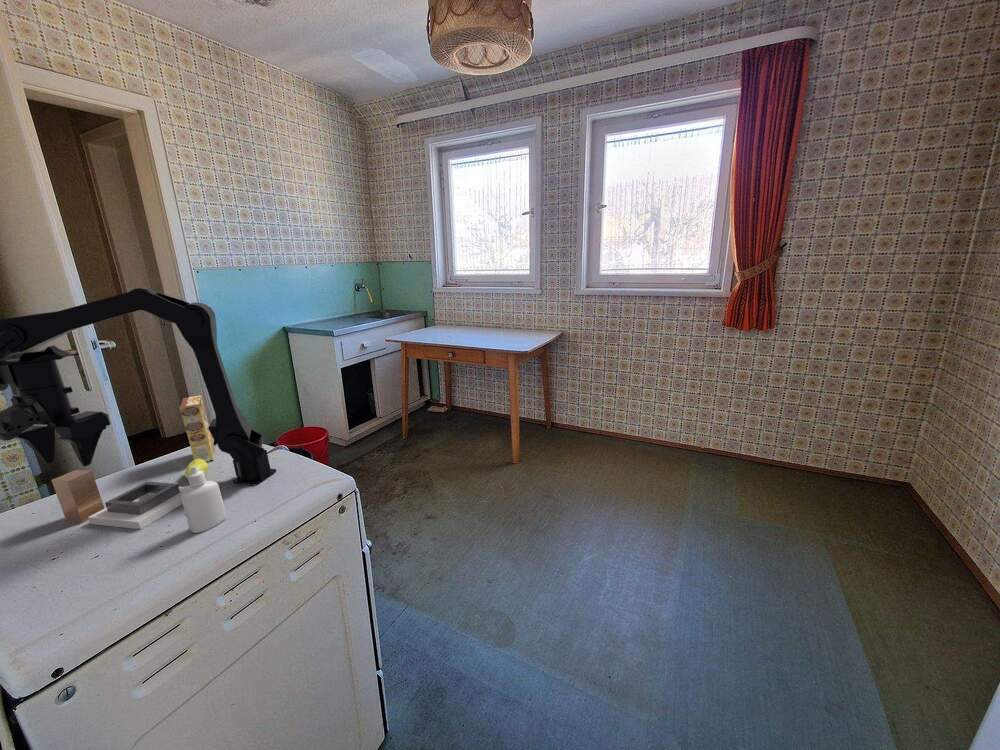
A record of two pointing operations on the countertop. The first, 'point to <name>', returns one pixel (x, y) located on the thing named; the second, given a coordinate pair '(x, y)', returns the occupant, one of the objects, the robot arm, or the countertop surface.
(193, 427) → the candy box
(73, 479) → the wooden square prism
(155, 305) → the robot arm
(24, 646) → the countertop surface
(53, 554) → the countertop surface
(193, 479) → the eye dropper bottle
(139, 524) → the collar plate
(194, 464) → the yellow elongated oval piece
